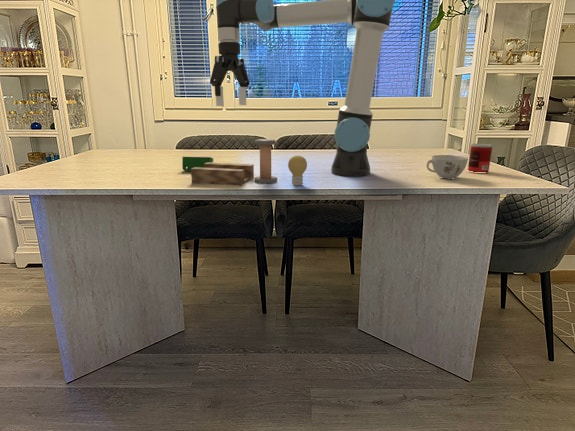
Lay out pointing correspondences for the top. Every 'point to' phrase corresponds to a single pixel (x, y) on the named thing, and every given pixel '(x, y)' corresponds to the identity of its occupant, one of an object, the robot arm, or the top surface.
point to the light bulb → (297, 169)
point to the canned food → (480, 157)
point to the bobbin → (265, 162)
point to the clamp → (194, 162)
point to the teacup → (447, 165)
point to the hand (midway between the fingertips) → (231, 105)
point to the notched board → (223, 174)
